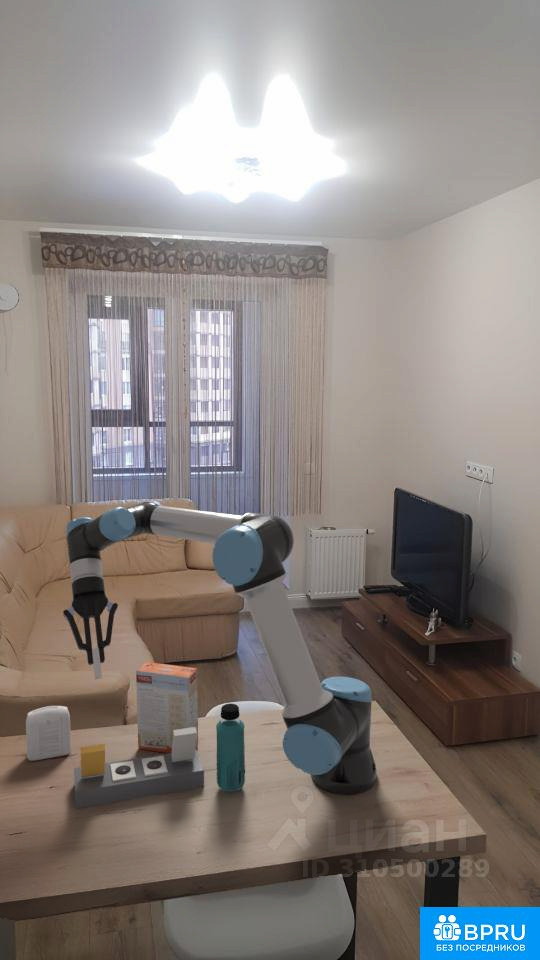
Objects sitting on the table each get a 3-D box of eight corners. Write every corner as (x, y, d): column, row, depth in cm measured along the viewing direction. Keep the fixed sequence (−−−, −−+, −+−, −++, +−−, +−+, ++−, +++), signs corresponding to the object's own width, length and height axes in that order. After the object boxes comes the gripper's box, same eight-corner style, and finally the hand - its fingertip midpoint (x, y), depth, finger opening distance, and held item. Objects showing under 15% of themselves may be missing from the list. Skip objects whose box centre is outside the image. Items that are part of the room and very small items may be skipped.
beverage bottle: (241, 800, 153) (241, 715, 149) (212, 796, 154) (211, 712, 150) (248, 782, 159) (248, 701, 155) (220, 778, 160) (219, 698, 157)
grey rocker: (192, 755, 161) (195, 726, 156) (194, 761, 160) (196, 732, 155) (171, 759, 160) (173, 730, 155) (172, 765, 159) (174, 736, 153)
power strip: (196, 764, 166) (196, 746, 165) (204, 786, 157) (203, 768, 157) (74, 784, 158) (73, 766, 157) (75, 808, 149) (75, 789, 148)
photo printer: (70, 746, 173) (68, 699, 171) (72, 755, 169) (70, 708, 167) (26, 754, 170) (24, 707, 167) (27, 763, 166) (24, 715, 163)
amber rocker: (104, 769, 155) (104, 743, 150) (104, 776, 154) (105, 750, 148) (81, 773, 154) (80, 747, 148) (81, 779, 153) (80, 753, 147)
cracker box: (199, 745, 174) (198, 667, 170) (189, 758, 168) (188, 677, 165) (148, 736, 178) (146, 659, 174) (137, 749, 172) (135, 669, 168)
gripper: (113, 581, 174) (125, 676, 165) (59, 588, 170) (68, 685, 161) (115, 571, 168) (128, 669, 159) (59, 578, 164) (68, 679, 154)
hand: (98, 677), depth 160 cm, fingers closed
